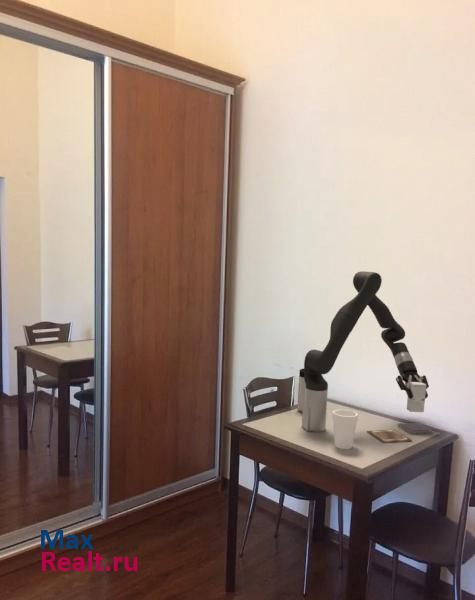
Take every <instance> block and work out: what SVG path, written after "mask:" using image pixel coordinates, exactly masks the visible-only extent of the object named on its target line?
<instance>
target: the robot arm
mask: <svg viewBox="0 0 475 600" xmlns="http://www.w3.org/2000/svg"><path fill="white" fill-rule="evenodd" d="M382 282H383V278H382V276H381V275H380V273H378V272H374V271H363V270H362V271H358V272H356V273H355V274H354V276H353V278H352V285H353V287H354V289H355V290H356V292H357V295H355V296H354V297H353V298H352V299H351V300H349V301H348V302H347V303H345V304H344V305H343V306H342V307H340V308H339V309H338V311H337V312H336V313H335V315H334V317H333V318H332V320H331V323H330V335H329V339H328V342H327V344H326V346H325V347H324V349H323V350H318V349H311V350H308V352H307V353H306V354H305V357H304V361H303V369H304V380H305V383H306V391H305V404H304V405H303V413H302V417H301V418H302V419H301V427H302V428H303V429H305V431H307V432H315V433H316V432H319V433H321V432H324V431H325V430H326V428H327V427H326V425H327V409H328V408H327V406H328V390H329V383H328V381H327V380H326V379H325V378H324V376H323V375H326V374H328V373H329V372H330V371H331V370H332V369H333V367H334V366H335V363H336V361H337V359H338V356H339V355H340V352H341V350H342V348H343V346H344V345H345V343H346V341H347V339H348V338H349V336H350V334H351V333H352V331H353V329H354V328H355V327H356V325H357V323H358V321H359V319H360V317H361V316H362V314H363V313H364V311H365V309H366V308H367V307H369V309H370V310H371V312H372V314H373V316H374V317H375V319H376V321H377V323H378V325H379V327H381V328H382V329H383V330H382V331H381V333H380V337H381V339H382V341H383V342H384V343H385V344H386V346H387V347H388V348H389V350H390V351H391V354H392V356H393V360H394V362H395V363H394V364H395V365H396V368H397V370H398V373H399V375H397V376H396V378H395V381H396V383H397V384H398V387H399V389H400V390H401V391H405V393H406V395H407V398H408V397H409V398H410V399H412V398H413V394H412V391H411V389H410V382H422V383H424V384H426V394H425V400H426V399H427V398H428V396H429V394H428V391H427V389H428V388H429V386H430V385H429V382H428V379H427V376H426V375H425V374H423V375H419V373H418V368H417V367H416V365H415V362H414V359H413V357H412V355H411V353H410V351H409V349H408V347H407V344H406V343H405V342H402V340H403V339H404V338H405V337H406V331H405V329H404V328H403V327H402V326H401V325H400V323H398V321H396V319H395V318H394V316H393V314H392V312H391V310H390V309H389V307H388V306H387V305H386V304H385V302H383V300H381V299H380V298H379V297H378V296H377V295H376V294H378V292H379V290H380V288H381V286H382ZM398 341H399V342H398Z"/></svg>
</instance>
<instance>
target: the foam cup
mask: <svg viewBox="0 0 475 600" xmlns="http://www.w3.org/2000/svg"><path fill="white" fill-rule="evenodd" d="M331 416H332V417H331V418H332V423H333V438H334V446H335V447H336V448H338V449H341V450H350V449H352V447H353V443H354V438H355V437H354V436H355V434H356V433H355V432H356V427H357V423H358V420H359V419H358V417H359V414H358V413H357V412H356V411H354V410H350V409H334V410H332V415H331Z"/></svg>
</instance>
